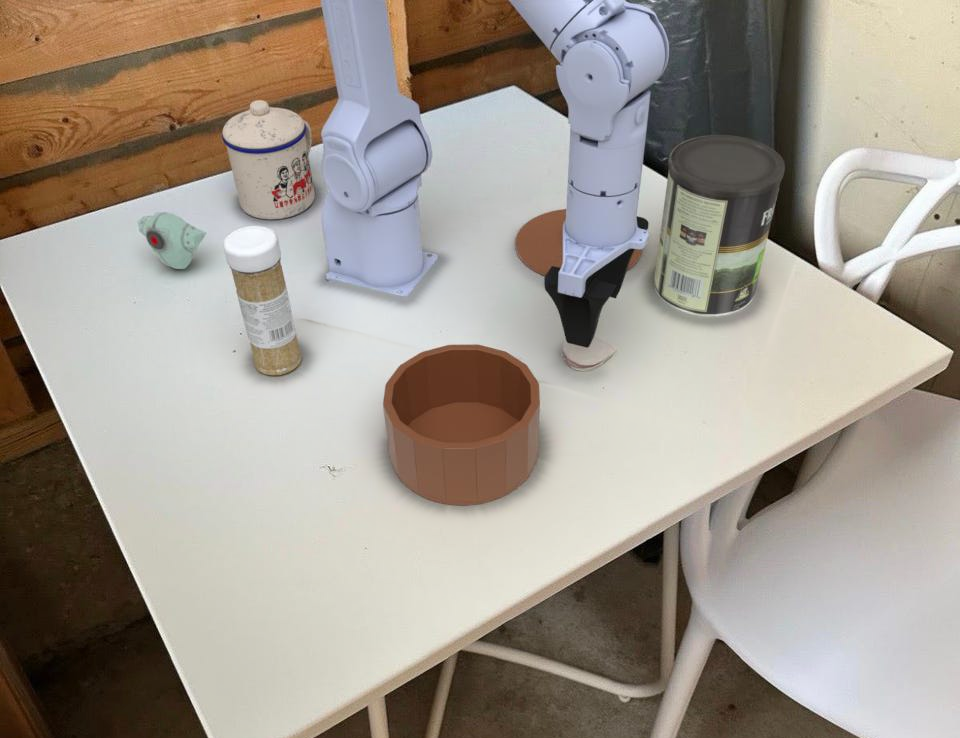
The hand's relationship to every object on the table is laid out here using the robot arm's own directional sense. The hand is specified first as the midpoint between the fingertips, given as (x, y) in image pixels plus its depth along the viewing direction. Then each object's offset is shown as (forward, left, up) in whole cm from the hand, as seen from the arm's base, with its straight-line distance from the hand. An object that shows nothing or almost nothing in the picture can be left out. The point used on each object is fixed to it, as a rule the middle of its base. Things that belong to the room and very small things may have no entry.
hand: (592, 317), depth 83 cm
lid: (-7, +17, -4) cm, 19 cm away
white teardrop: (0, 0, -5) cm, 5 cm away
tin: (-6, -15, -5) cm, 17 cm away
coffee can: (+7, +15, -5) cm, 17 cm away
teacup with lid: (-43, +15, -5) cm, 45 cm away
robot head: (-45, -2, -5) cm, 45 cm away
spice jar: (-27, -11, -5) cm, 30 cm away
